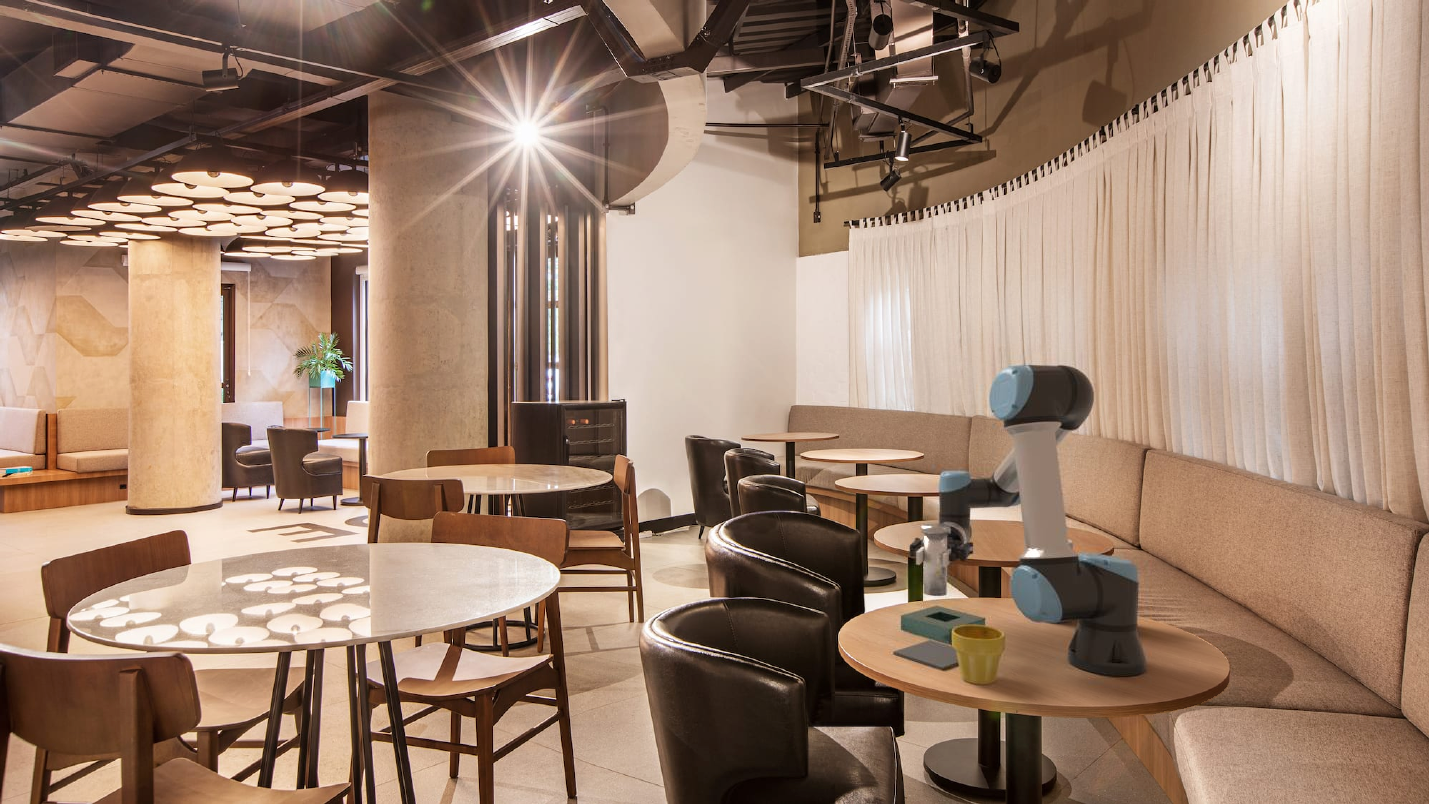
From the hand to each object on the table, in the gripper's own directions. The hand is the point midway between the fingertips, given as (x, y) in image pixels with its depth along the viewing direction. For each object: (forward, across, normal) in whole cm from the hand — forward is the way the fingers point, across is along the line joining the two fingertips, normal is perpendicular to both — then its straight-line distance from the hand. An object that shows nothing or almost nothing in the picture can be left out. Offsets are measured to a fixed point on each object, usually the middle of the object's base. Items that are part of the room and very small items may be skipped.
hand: (931, 559), depth 184 cm
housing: (-22, +1, -22) cm, 31 cm away
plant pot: (+7, -11, -22) cm, 26 cm away
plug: (-5, 0, -8) cm, 10 cm away
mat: (-3, -1, -22) cm, 22 cm away
